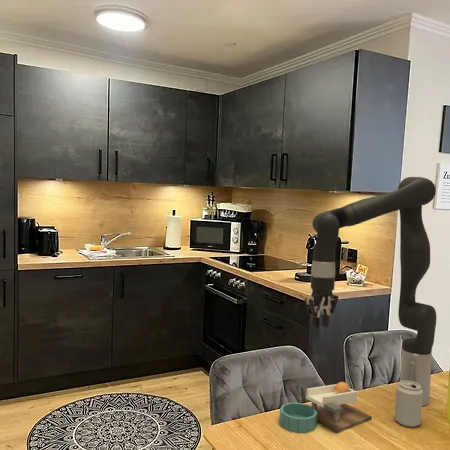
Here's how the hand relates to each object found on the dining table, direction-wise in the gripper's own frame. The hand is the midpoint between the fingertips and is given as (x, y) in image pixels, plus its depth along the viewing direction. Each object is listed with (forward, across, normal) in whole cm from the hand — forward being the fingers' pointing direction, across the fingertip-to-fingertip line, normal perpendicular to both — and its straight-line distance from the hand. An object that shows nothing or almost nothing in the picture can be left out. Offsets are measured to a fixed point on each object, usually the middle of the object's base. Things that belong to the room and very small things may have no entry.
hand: (320, 327), depth 150 cm
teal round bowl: (+25, +16, +7) cm, 30 cm away
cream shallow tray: (+20, +4, +11) cm, 23 cm away
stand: (+25, +2, +10) cm, 27 cm away
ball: (+17, -1, +9) cm, 20 cm away
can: (+25, -14, +24) cm, 38 cm away
